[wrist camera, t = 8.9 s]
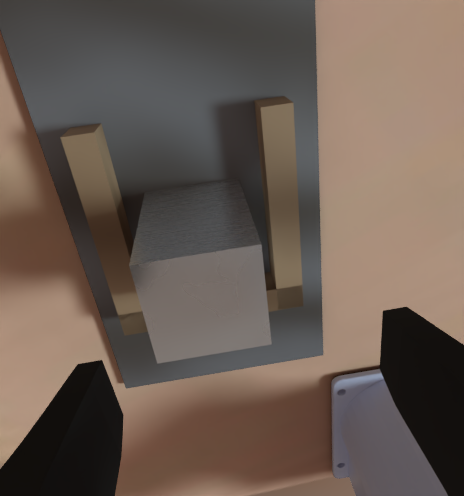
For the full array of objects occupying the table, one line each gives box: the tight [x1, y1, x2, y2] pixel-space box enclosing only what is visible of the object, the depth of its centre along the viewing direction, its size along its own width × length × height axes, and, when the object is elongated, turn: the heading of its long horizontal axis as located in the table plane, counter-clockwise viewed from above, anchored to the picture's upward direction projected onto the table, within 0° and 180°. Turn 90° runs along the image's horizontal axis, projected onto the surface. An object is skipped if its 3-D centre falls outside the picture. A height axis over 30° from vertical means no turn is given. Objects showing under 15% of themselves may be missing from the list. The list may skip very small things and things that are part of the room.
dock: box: [0, 0, 323, 388], centre depth 18 cm, size 20×11×2 cm, turn 7°
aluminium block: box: [129, 178, 272, 364], centre depth 16 cm, size 4×4×6 cm
